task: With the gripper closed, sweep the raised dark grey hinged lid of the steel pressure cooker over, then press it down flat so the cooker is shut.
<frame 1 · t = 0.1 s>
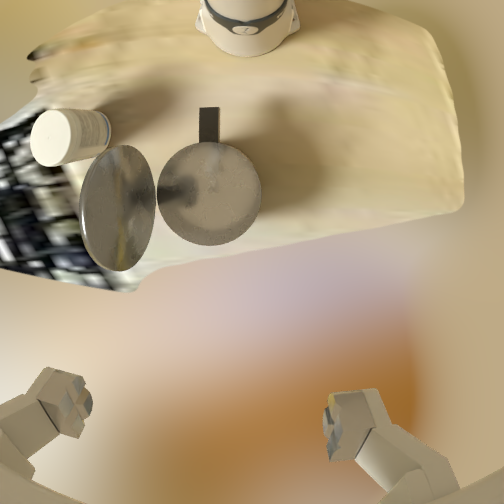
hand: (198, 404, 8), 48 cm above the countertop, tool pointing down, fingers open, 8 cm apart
supplement tub: (93, 134, 50), on the countertop
cooker lid: (118, 207, 36), point 19 cm above the countertop, hinge at 100.0°
cooker pot: (216, 184, 53), on the countertop
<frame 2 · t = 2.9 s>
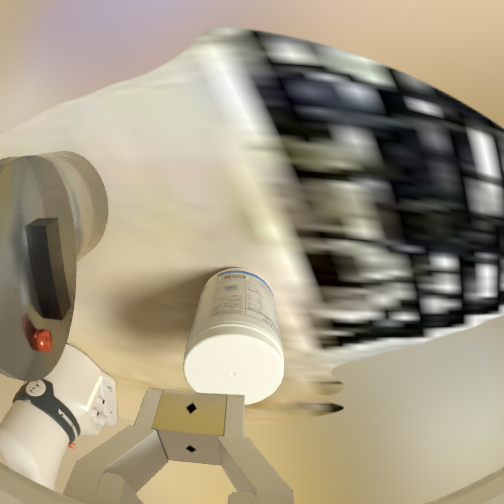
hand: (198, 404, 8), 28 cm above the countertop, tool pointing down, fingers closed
supplement tub: (238, 297, 40), on the countertop
cooker lid: (43, 268, 18), point 19 cm above the countertop, hinge at 100.0°
cooker pot: (62, 205, 35), on the countertop
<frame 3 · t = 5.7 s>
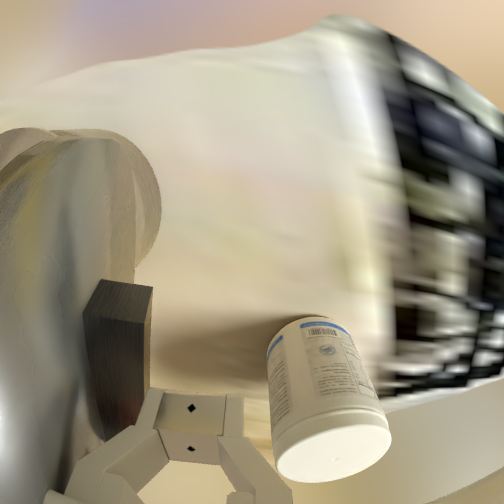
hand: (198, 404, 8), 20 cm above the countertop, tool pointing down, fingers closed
supplement tub: (309, 346, 32), on the countertop
cooker lid: (109, 371, 10), point 19 cm above the countertop, hinge at 100.0°, touching gripper
cooker pot: (91, 205, 26), on the countertop
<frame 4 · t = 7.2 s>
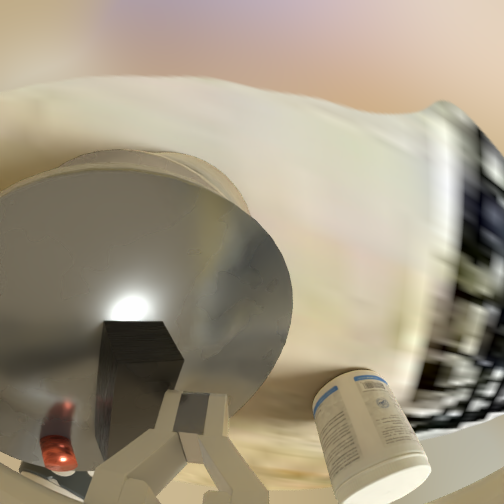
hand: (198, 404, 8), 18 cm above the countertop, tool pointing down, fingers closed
supplement tub: (349, 393, 32), on the countertop
cooker lid: (129, 395, 10), point 17 cm above the countertop, hinge at 33.8°, touching gripper
cooker pot: (166, 240, 25), on the countertop
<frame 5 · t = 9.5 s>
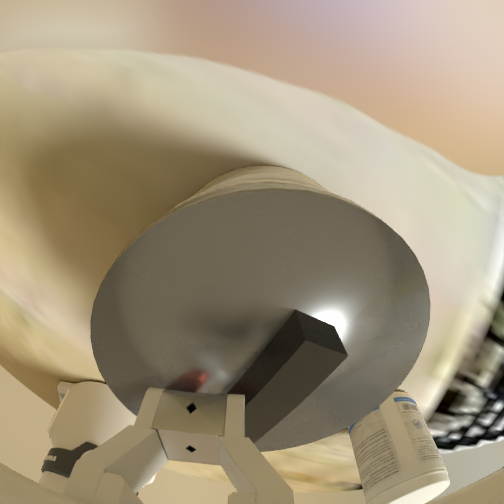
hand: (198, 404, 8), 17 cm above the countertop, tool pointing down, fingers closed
supplement tub: (380, 410, 33), on the countertop
cooker lid: (274, 379, 12), point 14 cm above the countertop, hinge at 6.2°
cooker pot: (262, 257, 25), on the countertop
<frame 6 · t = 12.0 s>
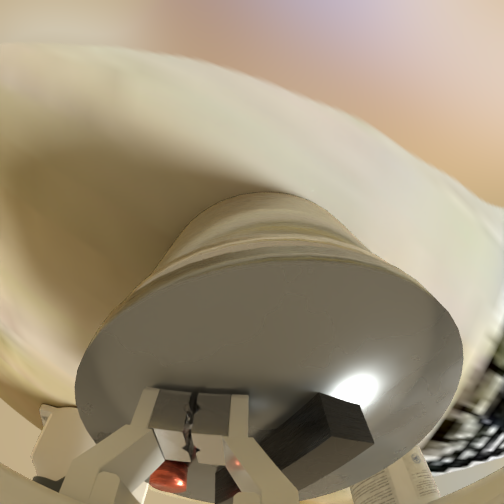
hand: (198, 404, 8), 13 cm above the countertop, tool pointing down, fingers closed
supplement tub: (377, 441, 30), on the countertop
cooker lid: (285, 454, 10), point 13 cm above the countertop, hinge at 3.2°, touching gripper
cooker pot: (265, 294, 22), on the countertop
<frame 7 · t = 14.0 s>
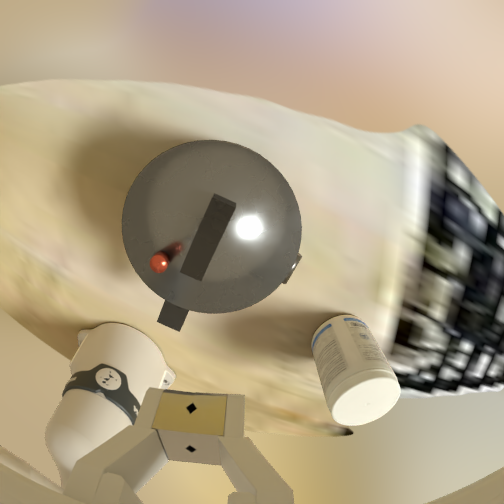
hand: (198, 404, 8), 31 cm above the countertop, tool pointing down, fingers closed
supplement tub: (339, 336, 45), on the countertop
cooker lid: (210, 236, 25), point 13 cm above the countertop, hinge at 1.6°
cooker pot: (222, 203, 37), on the countertop
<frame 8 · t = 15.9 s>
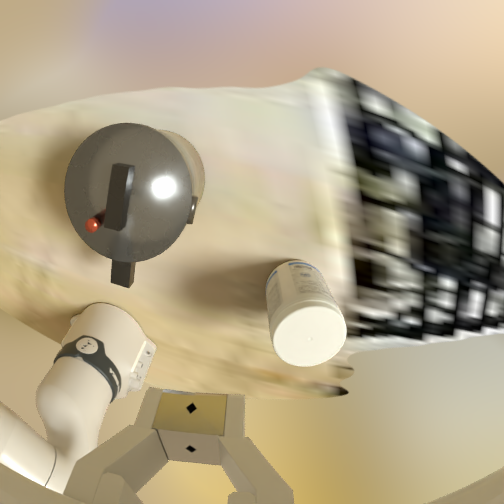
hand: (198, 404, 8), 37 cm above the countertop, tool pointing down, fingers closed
supplement tub: (294, 284, 49), on the countertop
cooker lid: (122, 196, 30), point 13 cm above the countertop, hinge at 1.6°
cooker pot: (155, 179, 42), on the countertop
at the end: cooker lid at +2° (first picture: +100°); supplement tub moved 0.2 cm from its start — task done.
